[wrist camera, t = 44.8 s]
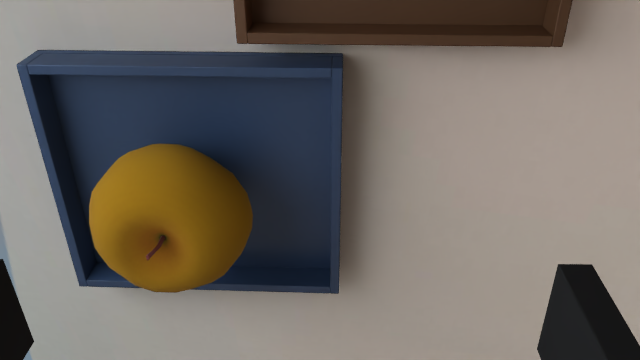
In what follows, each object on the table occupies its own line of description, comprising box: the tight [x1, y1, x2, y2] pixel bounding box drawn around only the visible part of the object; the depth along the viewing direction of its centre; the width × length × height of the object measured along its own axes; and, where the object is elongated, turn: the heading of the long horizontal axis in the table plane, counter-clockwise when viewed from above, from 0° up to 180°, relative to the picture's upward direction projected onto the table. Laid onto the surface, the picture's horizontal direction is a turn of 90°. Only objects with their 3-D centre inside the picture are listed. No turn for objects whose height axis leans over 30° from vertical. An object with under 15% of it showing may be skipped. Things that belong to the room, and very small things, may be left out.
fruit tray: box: [17, 50, 343, 294], centre depth 37 cm, size 18×16×3 cm
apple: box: [89, 144, 253, 292], centre depth 34 cm, size 9×9×9 cm
